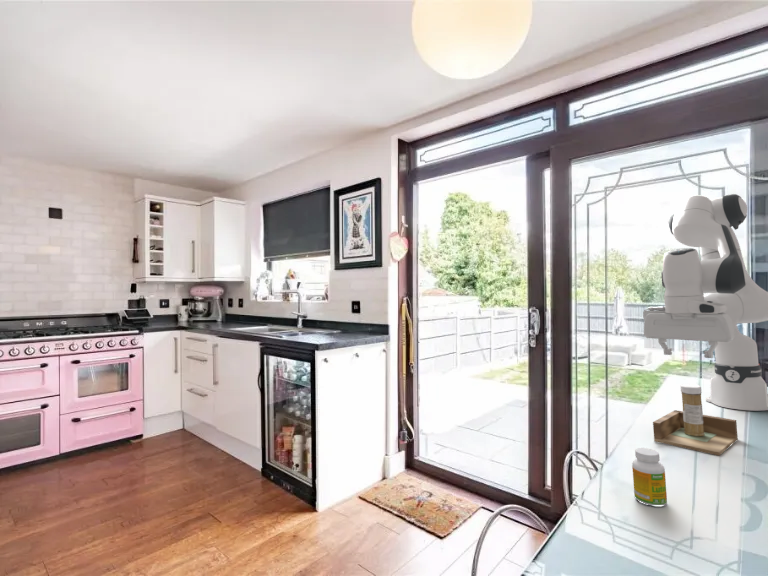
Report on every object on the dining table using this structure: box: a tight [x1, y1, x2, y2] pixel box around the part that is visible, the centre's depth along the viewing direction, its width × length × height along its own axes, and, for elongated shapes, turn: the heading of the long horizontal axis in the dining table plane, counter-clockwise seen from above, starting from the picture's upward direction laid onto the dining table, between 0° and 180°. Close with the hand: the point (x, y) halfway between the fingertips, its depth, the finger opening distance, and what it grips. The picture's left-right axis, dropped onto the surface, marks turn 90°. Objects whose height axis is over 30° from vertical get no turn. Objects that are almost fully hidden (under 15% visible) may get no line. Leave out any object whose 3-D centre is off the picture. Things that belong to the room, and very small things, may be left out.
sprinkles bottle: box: [680, 383, 704, 436], centre depth 110 cm, size 5×5×13 cm
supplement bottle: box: [631, 447, 668, 506], centre depth 79 cm, size 5×5×10 cm
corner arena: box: [652, 410, 739, 456], centre depth 108 cm, size 16×14×5 cm
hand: (687, 356), depth 111 cm, fingers open, 8 cm apart
